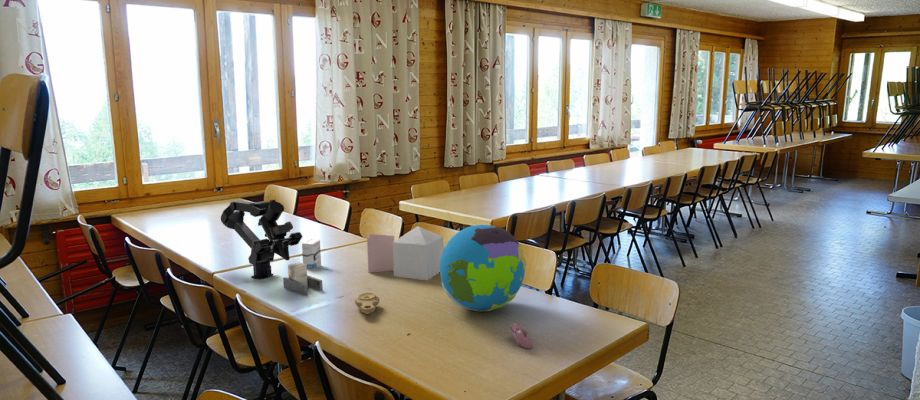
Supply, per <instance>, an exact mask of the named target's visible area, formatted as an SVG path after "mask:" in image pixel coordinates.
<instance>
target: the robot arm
mask: <svg viewBox="0 0 920 400" xmlns="http://www.w3.org/2000/svg"><path fill="white" fill-rule="evenodd" d="M284 211H285V206H284V204H282V203H281V202H279V201H276V199H270V200H269V201H268V200H263V201H258V202H257V201H255V202H253V201H246V200H242V199H238V200H232V201H231V202H230V203H229V205H228V206H227V207H226V208H224V210H223V211H222V213H221V215H220V221H221V224H223V226H225V227H226V228H227V229H231V230H234V231H235V232H236V233H237V234H238V236H240V238H241V239H242V240H243V241H244V242H245V244H247V246H248V247H249V248H250V254H249V256H248V263H249V264H250V265H252V266H253V269H252V271H253V275H251V279H259V280H264V279H267V278H269V277H272V276H274V273H272V265H271V262H274V261H275V254H276V255H277V256H279V257H281V258H282V259H284V260H285V261H290V251H289V249H290V248H289V247H293V246H297V245H299V243H300V241H301V240H302V238H303V235H302V233H301V232H300V231H296V232H292V233H290V232H291V230H293V228H294V225H293V224H292V222H291V221H286V222H285V223H282V224H279V223H277V221H278V220H279V219H280V217H281V216H282V214H283V212H284ZM246 213H249V215H250V216H252V217H254V218H257V217H260V218H259V219H258V223H257V226H258V227H259V226H260V227H262V229H263V231H264V237H265V238H263V239H260V238H259V237H258V235H256V234H255V232H253V230H251V228H250V227H249V226H248V225H247V224H246V223H245V221H244V218H245V216H246ZM287 233H290V235H289V236H288V234H287ZM287 236H288V237H287Z"/></svg>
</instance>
